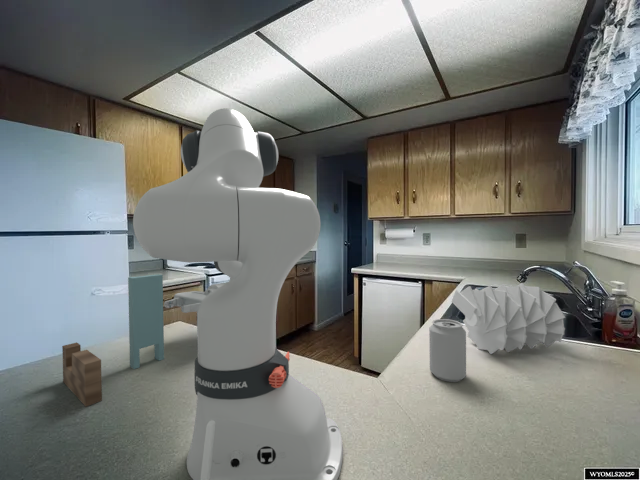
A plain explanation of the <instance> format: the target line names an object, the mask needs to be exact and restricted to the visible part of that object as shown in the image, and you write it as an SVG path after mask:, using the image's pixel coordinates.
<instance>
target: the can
mask: <svg viewBox="0 0 640 480" xmlns="http://www.w3.org/2000/svg"><path fill="white" fill-rule="evenodd" d="M431 323H432V324H431V325H430V327H429V337H428V338H429V371H430V372H431V373H432V374H433V375H434V377H435V378H437V379H439V380H441V381H444V382H450V383H457V382H461V381H462V380H463V379H464V378H466V376H467V332H466V330H465V329H464V328H463V326H464V325H463V322H459V321H457V320H453V319H447V318H439V319H437V318H436V319H434V320H433V321H432V322H431Z"/></svg>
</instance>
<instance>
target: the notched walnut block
mask: <svg viewBox="0 0 640 480" xmlns="http://www.w3.org/2000/svg"><path fill="white" fill-rule="evenodd" d="M81 347H82V346H81V344H80V343H78V342H73V343H69V344H64V345H62V347H61V348H62V382H63V383H64V385H65V386H66V387H67V388H68V389H69V390H70V391H71V392H72V393H73V395H74V396H75V397H76V398H77V399H78V400H79V401H80V402H81V403H82V404H83V405H84V407H85V408H86V407H89V406H92V405H94V404H97V403H100V402H101V401H103V396H102V395H103V394H102V392H103V390H102V382H103V381H102V359H101V358H99V357H98V356H96V354H94V353H93V352H91V351H90V350H88V349H84V350H81V349H82V348H81Z"/></svg>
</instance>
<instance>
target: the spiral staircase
mask: <svg viewBox="0 0 640 480" xmlns="http://www.w3.org/2000/svg"><path fill="white" fill-rule="evenodd" d="M556 301H557V299H556V298H555V297H554V296H552V295H550V294H549V293H547V292H545V291H543V290H541V286H533V285H532V286H531V285H530V286H529V285H525V284H524V282H521V283H519V284H517V285H515V286H506V284H505V283H501V284H500V285H498V287H496V288H493V287H492V285H488V286H486V287H485V288H482V289H480V290H479V289H478V288H475V289H472V286H471V285H470V286H469V285H468V286H467V287H466V288H464V289H463V290H461V291H460V290H458V289H456V290H455V292H454V294H453V296H452V299H451V301H450V302H451V303H452V304H453V305H454V306H455V307H456V308H457V309H458V310H459V311H460V312H461V313H462V314H463V315H464V319H463V320H462V323H464V325H465V327H466V329H467V330H468V331H467V332H468V333H467V335H466V338H467V337H468V338H469V339H470V340H471V341H472V342H474V343H475V344H476V349H478V350H483V351H484V350H485V351H488V352H489V354H490V355H493V354H494V353H495V352H497V351H498V350H502V351H503V350H505V351H506V353H509V352H512V351H514V350H515V349H519V350H522V349H523V347H524V346H527V347H529V348H530V349H533V348H534V347H535V346H537V345H538V344H543V345H544V346H545V348H548V347H549V346H551V345H552V344H553V343H555V342H559V343H561V342H562V340H563V337H564V336H565V330H566V327H565V325H564V319H565V318H566V316H565V314H564V313H563V311H562V310H561V308H560V307H559V305H558V302H556Z"/></svg>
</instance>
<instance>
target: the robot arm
mask: <svg viewBox="0 0 640 480" xmlns="http://www.w3.org/2000/svg"><path fill="white" fill-rule="evenodd" d="M180 158H181V161H182V164H183V165H184V168H185V169H186V172H187V173H185V174H183V176H181V177H179V178H177V179H174V180H173V181H170V182H168V183H165V184H162V185H158V186H155V187H152V188H149V190H148V191H146V192H145V193H144V194H143V195H142V196H141V197H140V199H139V200H138V202H137V204H136V207H135V208H134V212H133V218H132V224H133V226H132V227H133V231H134V235H135V238H136V241H137V242H138V243H139V245H140V247H141V248H142V249H143V250H144V251H145V252H146V254H148V255H149V256H150V257H151V258H153V259H159V260H160V259H161V260H167V261H172V262H182V263H191V264H192V263H210V262H211V263H212V262H213V264H214V267H215V269H216V270H217V272H219V273H221V274H224V275H225V276H227V277H228V278H229V280H228V281H227V282H220V283H216V284H215V283H214V284H213V283H212V284H210V285H209V286H208V287H207V289H206V290H205V291H200V290H193V291H192V290H191V291H185V292H184V291H183V292H178V293H175V294H174V295H173V298H172V299H169V300H165V301H163V308H167V309H170V308H173V307H180V309H181V312H182V313H184V314H187V313H193V312H195V313H196V326H197V327H196V331H197V335H196V336H197V340H196V341H197V356H196V358H195V360H194V374H193V375H194V391H195V394H196V408H195V419H194V427H193V433H192V438H191V443H190V445H189V446H190V448H189V449H188V453H187V457H186V468H187V472H188V474H189V476H190V478H191V479H192V480H338V478H339V477H340V474H341V470H342V464H343V457H344V445H343V438H342V437H343V436H342V432H341V429H340V427H339V425H338V424H337V422H336V421H335V420H334V419H333V418H330V417H327V414H326V410H325V406H324V404H323V401H322V398H321V396H319V394H318V393H316V392H315V391H313V390H312V389H311V388H310V387H308V386H306V385H305V384H304V383H303V382H301V381H299V380H298V379H296V378H295V377H294V376H293V375H291V374H290V364H289V363H290V351H287V352H286V354H285V355H284V354H282V353H281V352H280V351H279V350H278V348H277V347H276V323H277V322H276V321H277V307H278V301H279V297H280V293H281V290H282V288H283V285H284V283H285V280H286V279H287V277H288V275H289V274H290V272H291V270H292V269H293V267H295V265H296V264H298V263H299V261H300V260H301V259H302V258H303V257H304V256H305V255H307V254H308V253H309V252H310V251H311V250H312V249H313V248H314V246H315V245H316V243H317V242H318V239H319V236H320V232H321V226H322V225H321V217H320V212H319V209H318V207H317V206H316V203H315V202H314V201H313V199H312V198H311V197H310V196H309V195H306V194H303V193H299V192H297V191H293V190H288V189H283V188H280V187H279V188H276V187H261V184H262V181H263V179H264V177H267V176H269V175H271V174H273V173H274V172H275V171H276V169H277V165H278V164H279V162H278V161H279V149H278V146H277V143H276V141H275V139H274V137H273V136H272V134H270V133H268V132H264V131H256V132H255V131H254V129H253V127H252V125H251V123H250V122H249V120H248V118H246V116H245V115H243V114H242V113H241V112H239V111H237V110H235V109H232V108H219V109H216V110H214V111H213V112H212V113H210V114H209V115H208V116H207V118H206V120H205V122H204V124H203V126H202V128H201V131H200V130H195V131H193V132H189V133H187V134H186V135H185V136H184V137H183V138H182V141H181V147H180Z"/></svg>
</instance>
